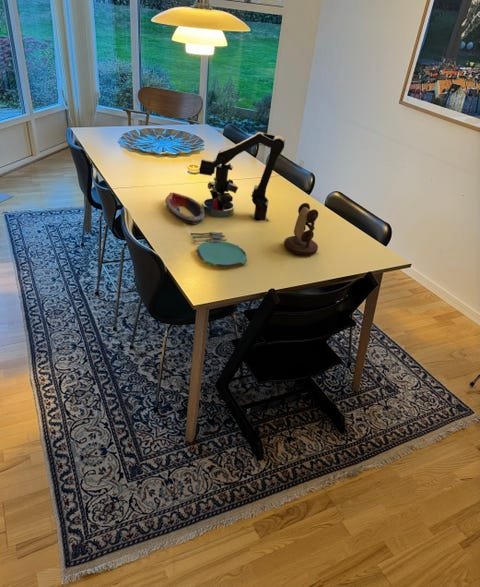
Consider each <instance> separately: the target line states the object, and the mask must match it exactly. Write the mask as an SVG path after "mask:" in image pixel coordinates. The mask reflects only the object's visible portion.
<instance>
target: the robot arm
mask: <svg viewBox="0 0 480 587" xmlns="http://www.w3.org/2000/svg"><path fill="white" fill-rule="evenodd" d="M285 143H286V140H285V138H284V137H283V136H282V135H279V134H278V135H274V134H271V133H270V134H269V133H266V132H262V131H258V132H256V133H255V134H253V135H252V136H250V137H248V138H246V139H244V140H242V141H241V142H239V143H236V144H234V145H232V146H231V145H230V146H227V147H223V148H221V149H220V150H219V151H218V153H217V154H216V157H215V158H214V159H213V160H209V159H205V158H201V160H200V166H199V169H198V170H199V171H198V174H199V175H203V176H209V177H213V175H214V176H215V177H213V181H209V182H208V183H207V189H208V190H209V193H210V196H211V198H213V200H214V199H215V198H216V200H217V204H218V209H219V210H222V208H223V206H224V204H225V202H232V203H233V201H234V200H233V199H234V197H233V195H231V193H233V194H237V191H238V189H239V186H238V185H237V184H236V183H234V181H233V179H231V178H229V171H232V170H233V168H234V166H233V165H232V164H231V163H230V162H231V161H232V160H233V159H234V158H235V157H237V156H238V155H240V154H241V153H243V152H246V151H247V150H249V149H251V148H253V147H255V146H257V145H259V144H260V145H263V146H265V147H267V148H269V149H270V150H269V155H268V158H267V160H266V164H265V167H264V169H263V173H262V174H261V178H260V180H259V183H258V185H256V184H254V187H253V191H252V192H251V195H250V196H251V201H252V203H253V205H254V206H255V207H254V212H253V214H251V217H252V218H253V219H254V221H256V222H265V221H266V222H268V221H269V219H268V218H267V212H268V207H269V199H268V198H267V197H266V192H267V187H268V184H269V182H270V179H271V176H272V173H273V171H274V168H275V165H276V162H277V160H278V158H279V157H280V155H281V154H282V152H283V150H284V148H285ZM228 178H229V179H228ZM230 192H231V193H230ZM217 197H218V198H217Z"/></svg>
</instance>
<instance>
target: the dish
mask: <svg viewBox="0 0 480 587" xmlns="http://www.w3.org/2000/svg"><path fill="white" fill-rule="evenodd" d="M164 200H165V205H166V207H167V210H168V211H169V213H170V214H171V215H172V216H173V217H175V218H176V219H178V220H179V221H180V222H183V223H186V224H189V225H197V224H200V223H202V221H203V219H204V217H205V215H206V214H205V212H204V209H203V208H202V205H201V204H200V203H199V202H198V201H197V200H195V199H194V198H192V197H189V196H187V195H185V194H180V193H176V192H174V191H173V192H170V193H168V195H167V196H166V197H165V199H164ZM180 207H182V208H185V209H186V210H187V211H188V212H190V213H191V214H192V215H193V216H189V215H187V214H185V213H183V212H181V210H180Z"/></svg>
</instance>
